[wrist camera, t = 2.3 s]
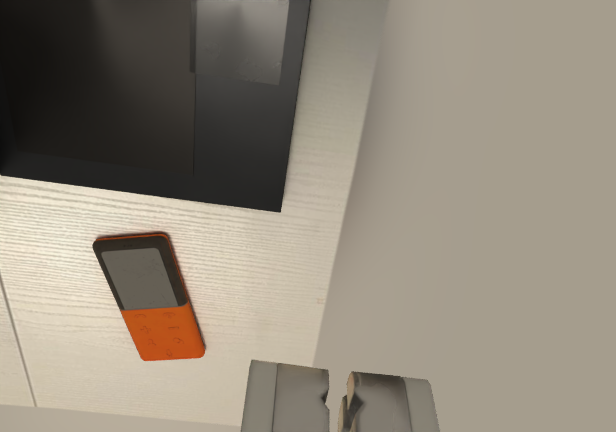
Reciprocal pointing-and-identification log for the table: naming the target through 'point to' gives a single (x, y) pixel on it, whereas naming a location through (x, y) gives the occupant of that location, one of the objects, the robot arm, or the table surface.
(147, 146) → the notebook
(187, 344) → the phone
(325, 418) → the robot arm
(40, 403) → the table surface
